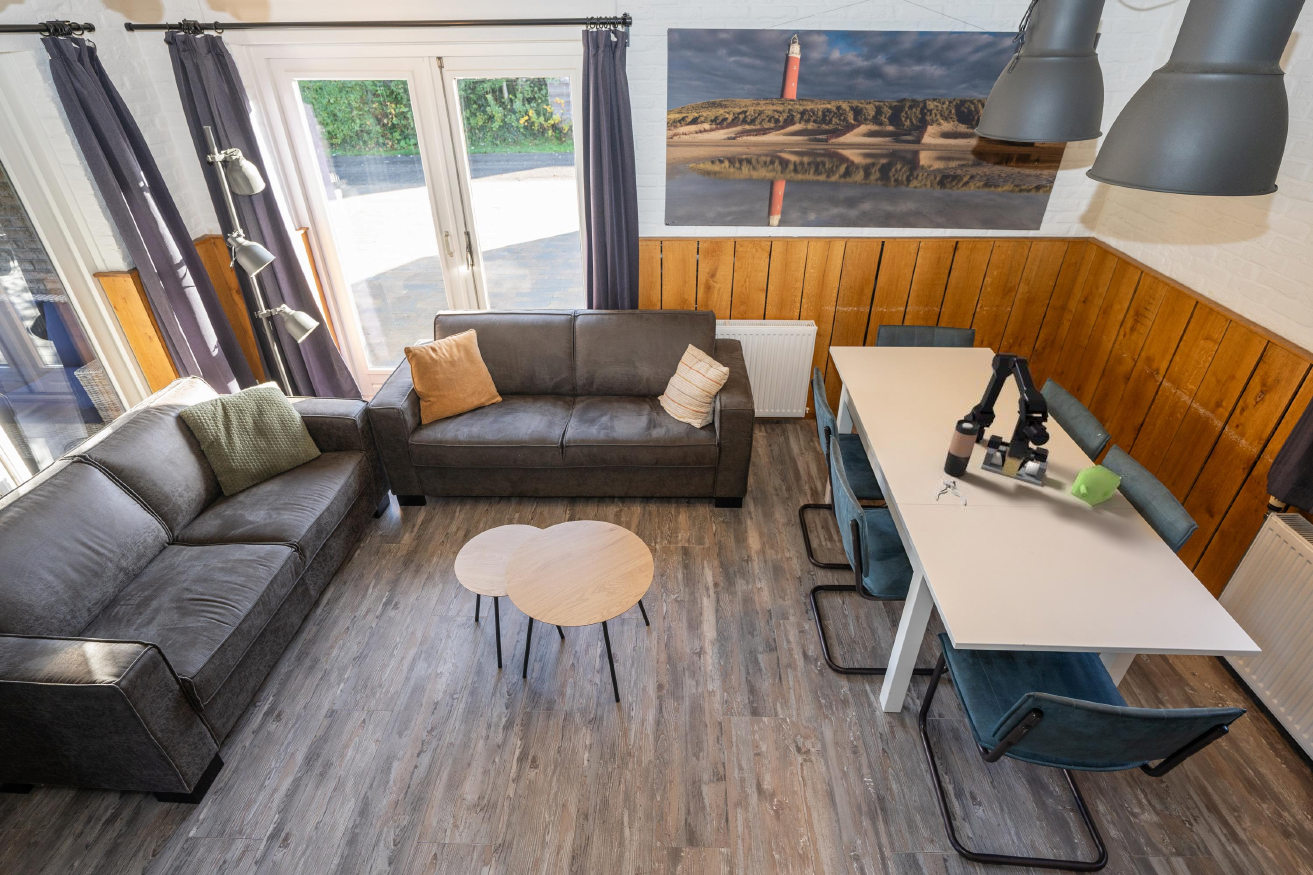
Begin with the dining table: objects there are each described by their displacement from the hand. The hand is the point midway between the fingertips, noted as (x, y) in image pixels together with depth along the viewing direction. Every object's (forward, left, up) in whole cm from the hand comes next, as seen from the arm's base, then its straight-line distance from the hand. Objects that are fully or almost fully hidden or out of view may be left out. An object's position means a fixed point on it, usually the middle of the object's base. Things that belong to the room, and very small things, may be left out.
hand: (1010, 468), depth 235 cm
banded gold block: (0, 0, -1) cm, 1 cm away
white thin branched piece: (-16, -17, -7) cm, 24 cm away
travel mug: (-17, -3, -6) cm, 18 cm away
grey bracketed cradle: (+1, +10, -6) cm, 12 cm away
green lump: (+27, +8, -6) cm, 29 cm away
